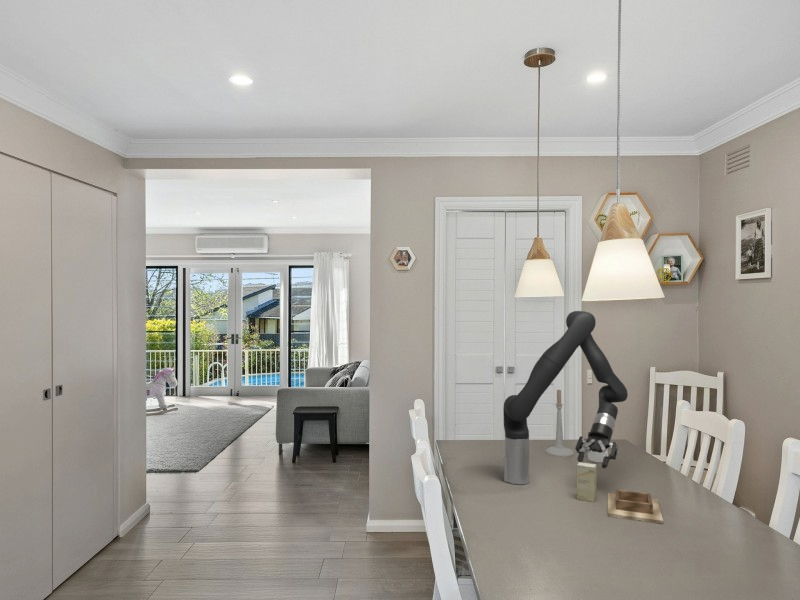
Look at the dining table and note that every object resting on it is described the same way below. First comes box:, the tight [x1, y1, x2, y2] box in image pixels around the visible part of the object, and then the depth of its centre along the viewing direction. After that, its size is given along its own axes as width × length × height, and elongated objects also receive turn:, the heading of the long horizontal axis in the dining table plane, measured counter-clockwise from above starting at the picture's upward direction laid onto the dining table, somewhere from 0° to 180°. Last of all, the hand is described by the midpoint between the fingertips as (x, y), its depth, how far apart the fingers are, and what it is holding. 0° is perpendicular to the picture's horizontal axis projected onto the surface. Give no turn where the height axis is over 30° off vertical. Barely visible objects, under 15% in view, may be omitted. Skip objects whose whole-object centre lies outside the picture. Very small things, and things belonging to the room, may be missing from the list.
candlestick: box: [545, 389, 575, 457], centre depth 240 cm, size 13×13×30 cm
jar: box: [587, 431, 609, 464], centre depth 228 cm, size 9×8×12 cm
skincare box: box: [576, 461, 597, 503], centre depth 181 cm, size 6×4×12 cm
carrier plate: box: [607, 489, 664, 524], centre depth 171 cm, size 16×20×4 cm
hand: (591, 465), depth 184 cm, fingers open, 8 cm apart
